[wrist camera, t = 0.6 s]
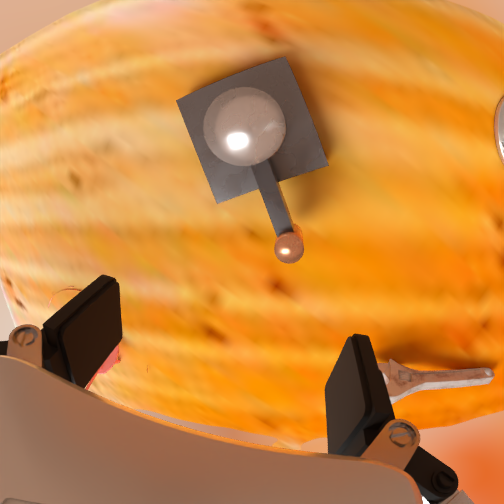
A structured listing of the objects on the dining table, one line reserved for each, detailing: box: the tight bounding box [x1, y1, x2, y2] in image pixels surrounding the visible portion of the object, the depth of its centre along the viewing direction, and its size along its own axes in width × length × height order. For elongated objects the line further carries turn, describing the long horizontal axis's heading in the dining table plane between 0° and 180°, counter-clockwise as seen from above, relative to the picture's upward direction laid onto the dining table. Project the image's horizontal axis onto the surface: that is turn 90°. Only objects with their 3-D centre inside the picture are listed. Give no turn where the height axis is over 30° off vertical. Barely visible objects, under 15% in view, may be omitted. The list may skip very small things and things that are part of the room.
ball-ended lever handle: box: [203, 87, 304, 263], centre depth 26 cm, size 16×7×4 cm, turn 21°
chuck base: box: [176, 57, 329, 204], centre depth 29 cm, size 12×12×3 cm
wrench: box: [377, 359, 495, 404], centre depth 35 cm, size 8×2×30 cm
